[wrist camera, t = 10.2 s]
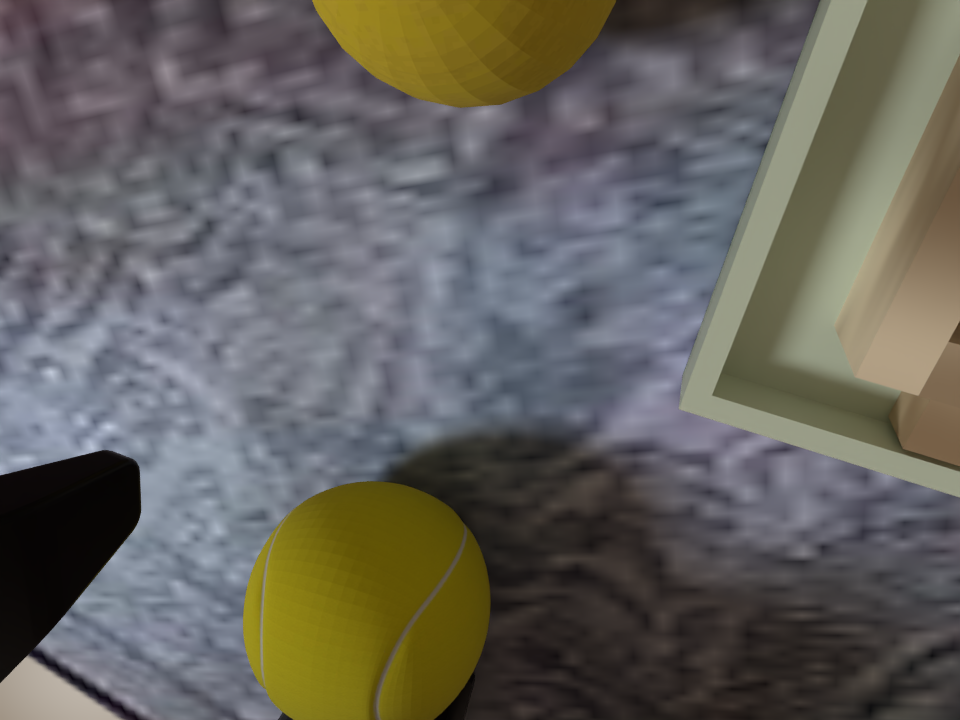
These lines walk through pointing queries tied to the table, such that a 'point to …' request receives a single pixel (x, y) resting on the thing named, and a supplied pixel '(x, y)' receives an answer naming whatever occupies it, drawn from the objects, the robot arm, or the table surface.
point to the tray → (824, 238)
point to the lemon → (465, 43)
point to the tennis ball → (367, 606)
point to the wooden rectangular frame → (916, 293)
